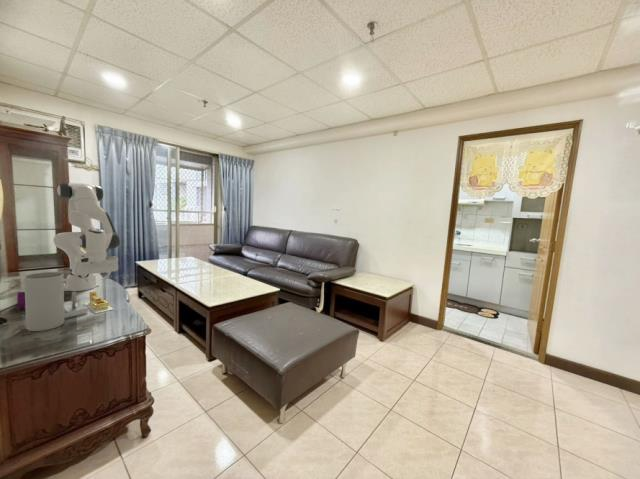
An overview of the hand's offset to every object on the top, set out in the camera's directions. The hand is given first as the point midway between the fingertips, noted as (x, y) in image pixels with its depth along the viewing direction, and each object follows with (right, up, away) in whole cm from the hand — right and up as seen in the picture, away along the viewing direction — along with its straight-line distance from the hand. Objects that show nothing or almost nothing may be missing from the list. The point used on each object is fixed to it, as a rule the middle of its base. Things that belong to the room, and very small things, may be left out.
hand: (96, 280), depth 148 cm
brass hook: (0, -15, +1) cm, 15 cm away
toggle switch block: (-6, -16, -8) cm, 19 cm away
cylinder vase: (-1, -18, -26) cm, 32 cm away
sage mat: (+2, -15, 0) cm, 15 cm away
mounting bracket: (-33, -13, -4) cm, 36 cm away
